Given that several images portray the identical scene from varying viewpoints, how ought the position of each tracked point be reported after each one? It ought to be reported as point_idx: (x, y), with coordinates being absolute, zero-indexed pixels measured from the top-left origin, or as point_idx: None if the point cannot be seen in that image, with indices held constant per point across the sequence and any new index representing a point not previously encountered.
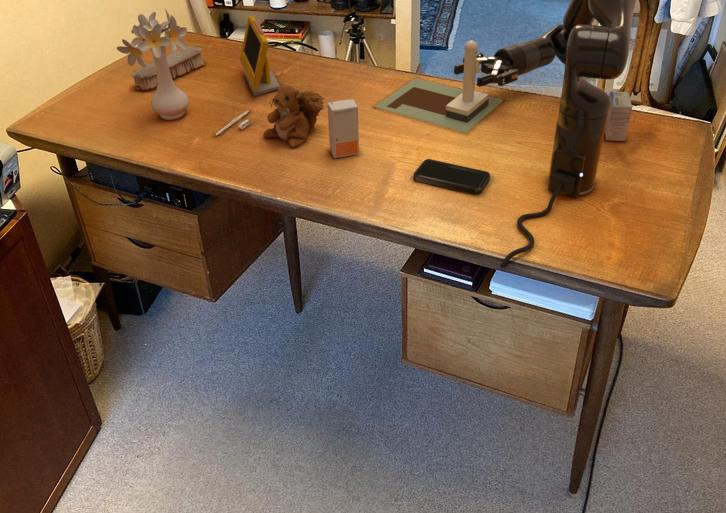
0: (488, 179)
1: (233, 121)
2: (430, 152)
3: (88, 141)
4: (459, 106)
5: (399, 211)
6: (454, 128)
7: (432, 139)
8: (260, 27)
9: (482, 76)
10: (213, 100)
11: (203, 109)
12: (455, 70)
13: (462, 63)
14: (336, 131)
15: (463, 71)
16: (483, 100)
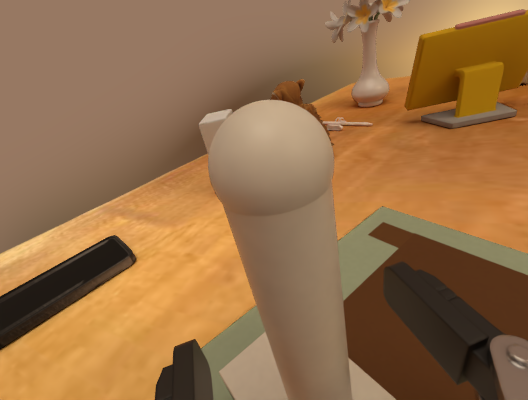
0: None
1: (343, 122)
2: (163, 272)
3: (328, 97)
4: (269, 351)
5: (81, 226)
6: (218, 340)
7: (205, 283)
8: (488, 19)
9: (186, 375)
10: (405, 109)
11: (381, 110)
12: (387, 279)
13: (446, 303)
14: None
15: (427, 343)
16: None
